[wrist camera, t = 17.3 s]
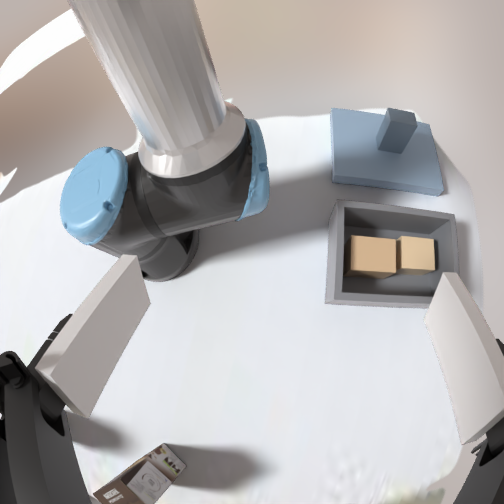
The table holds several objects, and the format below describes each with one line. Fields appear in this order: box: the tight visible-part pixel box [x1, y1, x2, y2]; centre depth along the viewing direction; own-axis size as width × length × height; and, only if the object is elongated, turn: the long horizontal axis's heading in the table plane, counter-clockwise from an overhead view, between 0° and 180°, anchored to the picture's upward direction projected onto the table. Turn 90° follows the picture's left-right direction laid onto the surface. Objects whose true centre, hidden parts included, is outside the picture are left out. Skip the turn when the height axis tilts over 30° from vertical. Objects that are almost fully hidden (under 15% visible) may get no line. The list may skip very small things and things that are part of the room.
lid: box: [330, 108, 444, 196], centre depth 44 cm, size 22×16×12 cm
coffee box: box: [93, 444, 186, 504], centre depth 32 cm, size 9×6×16 cm
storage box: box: [325, 200, 459, 308], centre depth 40 cm, size 20×14×9 cm
